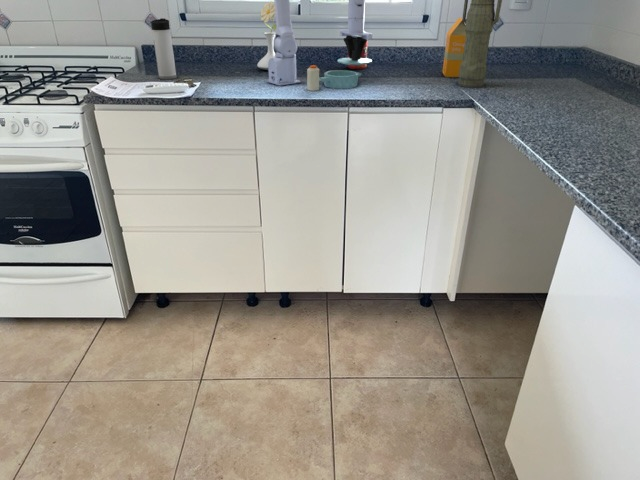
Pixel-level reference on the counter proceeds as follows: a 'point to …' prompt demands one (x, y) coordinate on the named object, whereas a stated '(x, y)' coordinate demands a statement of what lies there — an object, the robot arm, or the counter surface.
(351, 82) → the pot
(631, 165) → the counter surface
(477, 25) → the thermos
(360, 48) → the robot arm
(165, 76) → the travel mug
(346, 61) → the lid
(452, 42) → the orange juice
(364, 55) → the canned food
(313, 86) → the bottle
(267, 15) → the flower in vase
